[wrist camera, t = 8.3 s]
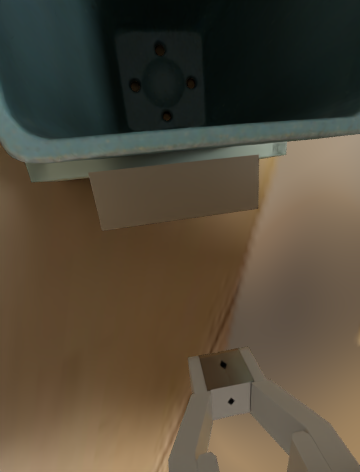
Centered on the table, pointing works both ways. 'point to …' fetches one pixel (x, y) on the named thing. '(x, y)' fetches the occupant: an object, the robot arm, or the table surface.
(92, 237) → the table surface
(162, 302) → the table surface
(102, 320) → the table surface
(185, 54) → the flower pot
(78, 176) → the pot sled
